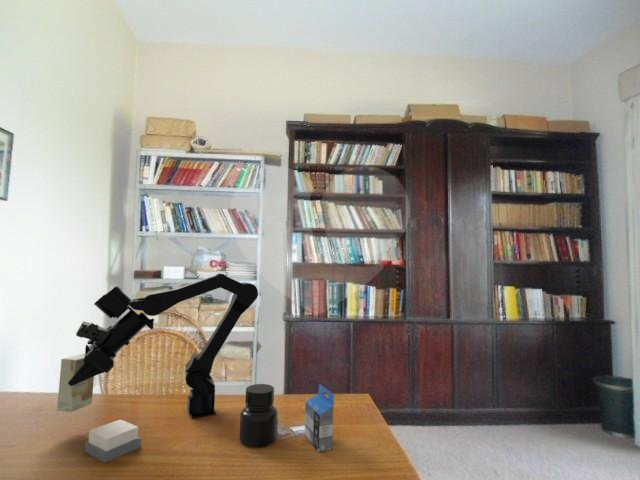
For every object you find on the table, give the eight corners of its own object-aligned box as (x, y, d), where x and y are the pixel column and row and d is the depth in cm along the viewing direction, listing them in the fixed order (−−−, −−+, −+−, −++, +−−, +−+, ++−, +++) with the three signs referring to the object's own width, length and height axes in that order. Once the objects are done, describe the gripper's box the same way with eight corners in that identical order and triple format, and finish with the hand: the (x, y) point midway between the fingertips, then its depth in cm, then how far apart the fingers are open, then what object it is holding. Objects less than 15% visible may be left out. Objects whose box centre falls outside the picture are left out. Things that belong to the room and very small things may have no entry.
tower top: (119, 430, 86) (120, 419, 86) (137, 438, 82) (138, 426, 82) (88, 442, 80) (89, 430, 80) (106, 451, 76) (107, 439, 76)
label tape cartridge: (303, 435, 90) (305, 384, 91) (317, 433, 91) (319, 383, 92) (318, 452, 82) (319, 396, 83) (333, 449, 83) (334, 394, 84)
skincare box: (71, 413, 85) (74, 360, 86) (56, 411, 86) (59, 359, 87) (93, 403, 92) (96, 354, 92) (79, 401, 92) (82, 352, 93)
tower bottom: (120, 439, 86) (121, 428, 86) (140, 449, 82) (141, 438, 82) (84, 453, 80) (85, 442, 80) (104, 465, 75) (105, 452, 75)
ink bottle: (284, 435, 90) (285, 385, 91) (267, 452, 81) (269, 397, 82) (249, 428, 93) (251, 380, 94) (230, 444, 85) (232, 391, 85)
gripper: (99, 306, 100) (47, 350, 94) (100, 314, 85) (37, 369, 78) (129, 332, 104) (81, 377, 98) (136, 345, 88) (79, 400, 82)
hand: (70, 380), depth 89 cm, fingers closed on skincare box, 7 cm apart
